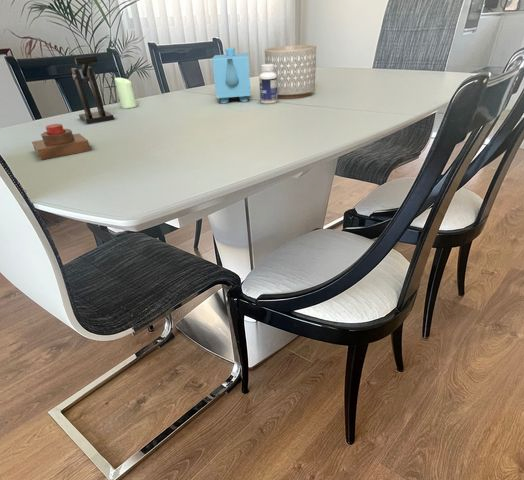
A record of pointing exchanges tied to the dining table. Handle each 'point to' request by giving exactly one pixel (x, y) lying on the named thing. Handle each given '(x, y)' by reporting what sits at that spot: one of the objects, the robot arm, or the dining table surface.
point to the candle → (125, 93)
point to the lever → (85, 66)
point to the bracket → (88, 116)
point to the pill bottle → (268, 84)
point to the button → (54, 129)
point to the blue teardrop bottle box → (231, 75)
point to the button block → (60, 144)
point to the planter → (293, 69)
